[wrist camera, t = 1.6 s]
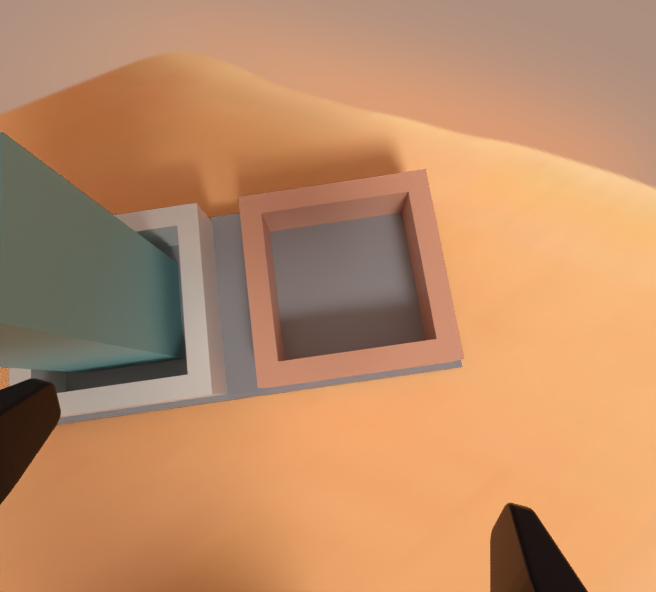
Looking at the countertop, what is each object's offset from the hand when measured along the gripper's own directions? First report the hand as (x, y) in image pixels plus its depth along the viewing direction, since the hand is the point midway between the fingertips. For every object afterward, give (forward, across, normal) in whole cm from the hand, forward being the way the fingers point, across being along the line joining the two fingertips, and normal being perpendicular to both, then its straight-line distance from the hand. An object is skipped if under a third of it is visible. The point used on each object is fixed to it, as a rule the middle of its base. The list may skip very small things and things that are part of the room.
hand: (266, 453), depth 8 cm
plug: (+11, +10, +6) cm, 17 cm away
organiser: (+13, +5, +6) cm, 16 cm away
